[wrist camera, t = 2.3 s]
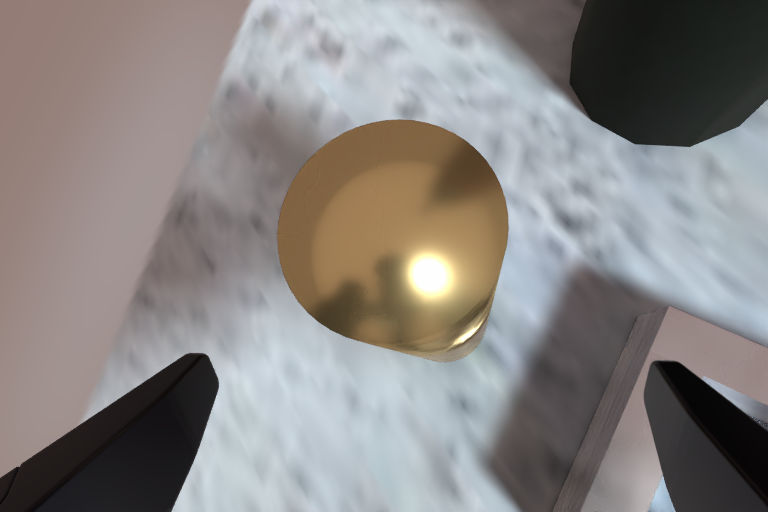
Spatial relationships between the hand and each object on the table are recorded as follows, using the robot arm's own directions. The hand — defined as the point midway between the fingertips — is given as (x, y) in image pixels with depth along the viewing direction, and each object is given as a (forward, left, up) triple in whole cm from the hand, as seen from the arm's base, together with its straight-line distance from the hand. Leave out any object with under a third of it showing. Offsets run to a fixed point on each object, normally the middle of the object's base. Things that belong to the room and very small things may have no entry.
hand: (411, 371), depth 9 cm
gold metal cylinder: (+2, +1, -9) cm, 10 cm away
